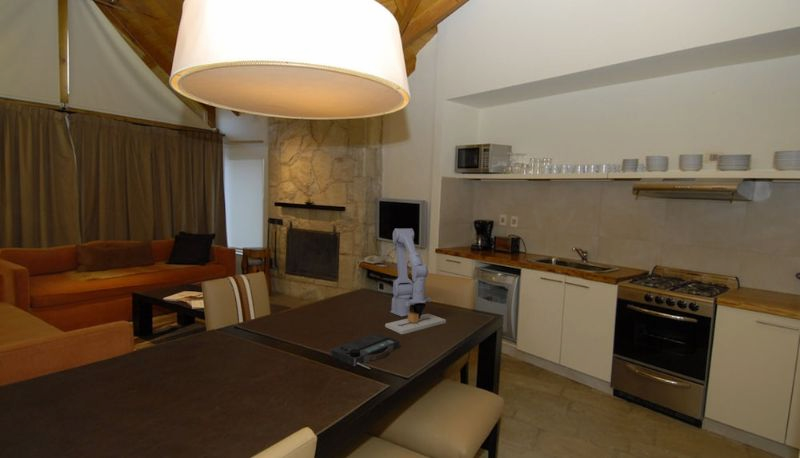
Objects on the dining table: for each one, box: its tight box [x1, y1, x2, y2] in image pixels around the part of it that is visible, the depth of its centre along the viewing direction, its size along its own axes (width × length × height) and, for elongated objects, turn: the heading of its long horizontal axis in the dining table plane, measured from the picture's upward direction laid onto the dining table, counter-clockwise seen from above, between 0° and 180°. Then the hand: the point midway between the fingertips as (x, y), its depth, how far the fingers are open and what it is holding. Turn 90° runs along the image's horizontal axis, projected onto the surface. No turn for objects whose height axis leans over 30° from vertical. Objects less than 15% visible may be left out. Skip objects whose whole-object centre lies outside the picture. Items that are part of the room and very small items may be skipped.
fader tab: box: [407, 311, 419, 323], centre depth 190 cm, size 4×3×4 cm
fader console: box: [384, 313, 447, 335], centre depth 191 cm, size 12×28×2 cm, turn 130°
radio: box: [330, 332, 401, 370], centre depth 155 cm, size 25×4×20 cm
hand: (417, 318), depth 192 cm, fingers closed
